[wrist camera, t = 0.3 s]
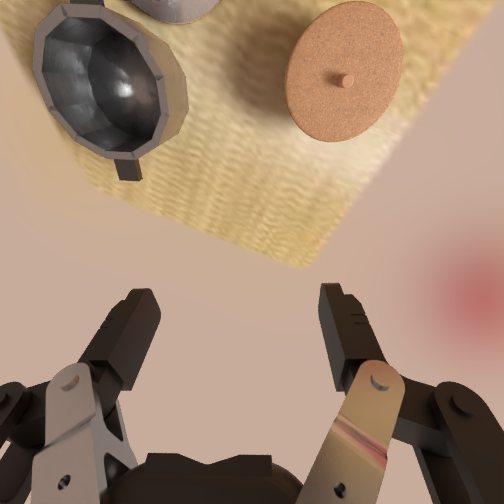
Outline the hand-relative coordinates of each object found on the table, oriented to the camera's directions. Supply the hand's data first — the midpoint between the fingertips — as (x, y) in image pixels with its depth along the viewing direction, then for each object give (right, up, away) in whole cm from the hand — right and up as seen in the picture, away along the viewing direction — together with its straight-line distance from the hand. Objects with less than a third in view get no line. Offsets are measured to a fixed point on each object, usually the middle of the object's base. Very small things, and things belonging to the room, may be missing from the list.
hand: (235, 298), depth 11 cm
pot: (-13, +22, +19) cm, 32 cm away
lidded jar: (+10, +23, +18) cm, 30 cm away
